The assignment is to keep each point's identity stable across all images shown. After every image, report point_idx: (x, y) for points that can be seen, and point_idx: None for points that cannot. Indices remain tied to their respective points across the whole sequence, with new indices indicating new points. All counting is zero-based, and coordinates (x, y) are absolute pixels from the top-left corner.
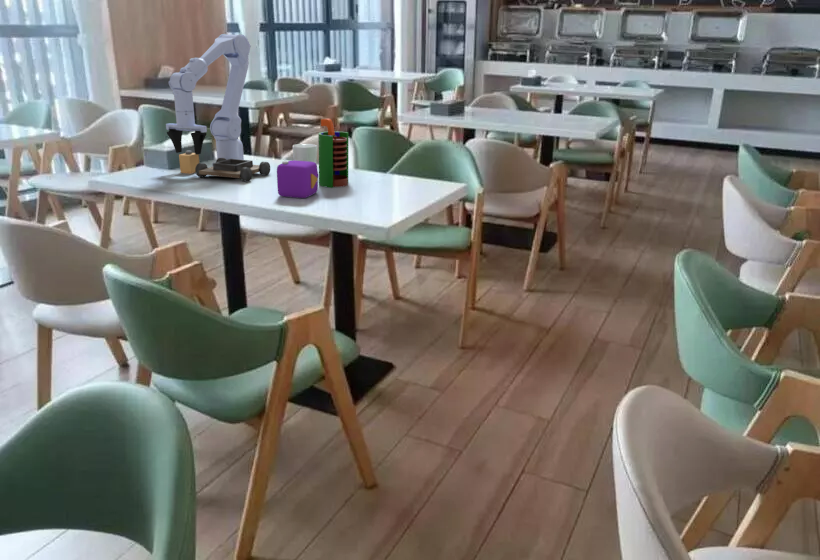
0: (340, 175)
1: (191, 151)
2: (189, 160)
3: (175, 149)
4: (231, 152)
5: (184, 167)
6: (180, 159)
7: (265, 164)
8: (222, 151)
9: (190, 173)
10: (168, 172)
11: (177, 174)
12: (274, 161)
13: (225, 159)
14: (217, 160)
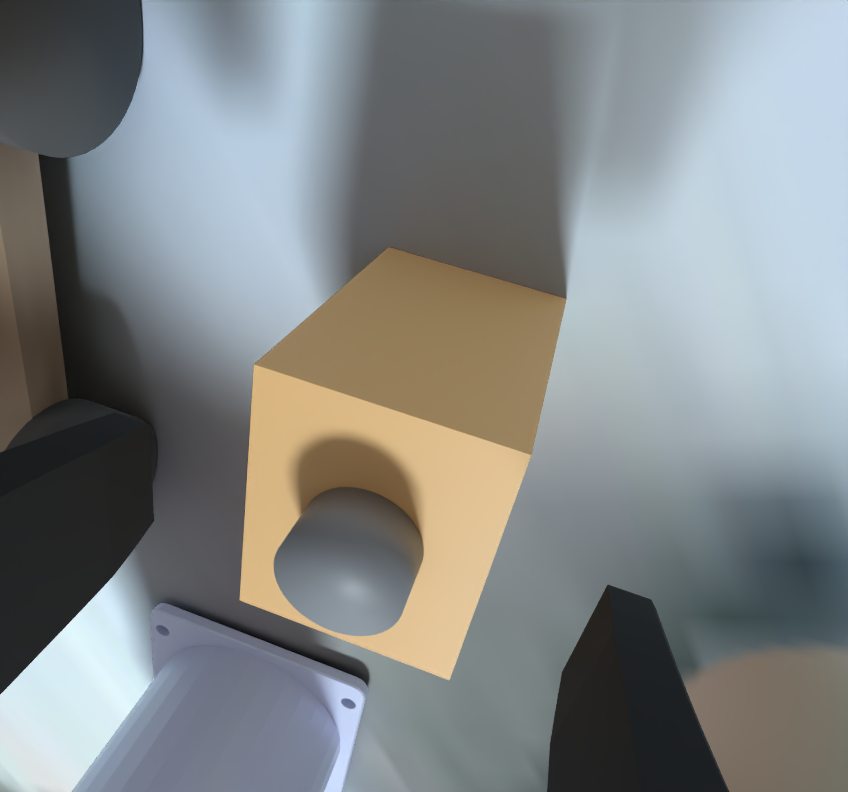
0: None
1: (277, 568)
2: (303, 322)
3: (660, 652)
4: (91, 769)
5: (470, 309)
6: (516, 390)
7: None
8: (154, 787)
9: (391, 249)
10: (783, 294)
11: (566, 150)
12: (45, 767)
13: None
14: None
